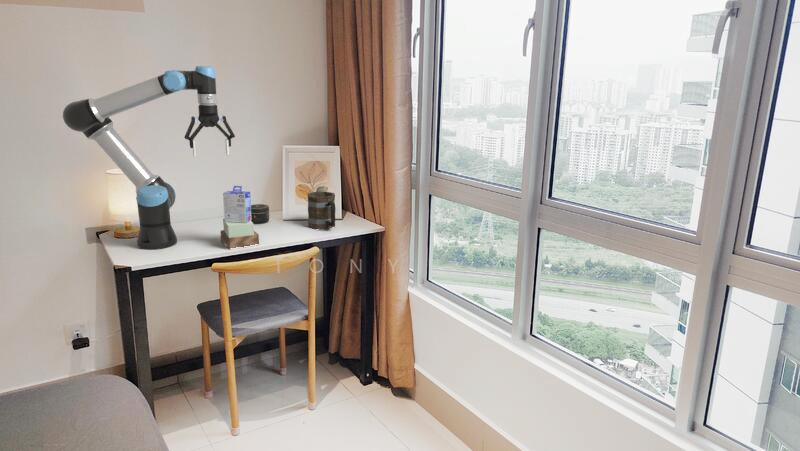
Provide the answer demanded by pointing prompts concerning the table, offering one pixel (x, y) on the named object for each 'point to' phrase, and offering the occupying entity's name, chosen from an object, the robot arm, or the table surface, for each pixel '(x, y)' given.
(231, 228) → the sage top block
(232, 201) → the ink cartridge box
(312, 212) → the mug
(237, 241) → the walnut base block
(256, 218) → the jar
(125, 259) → the table surface
